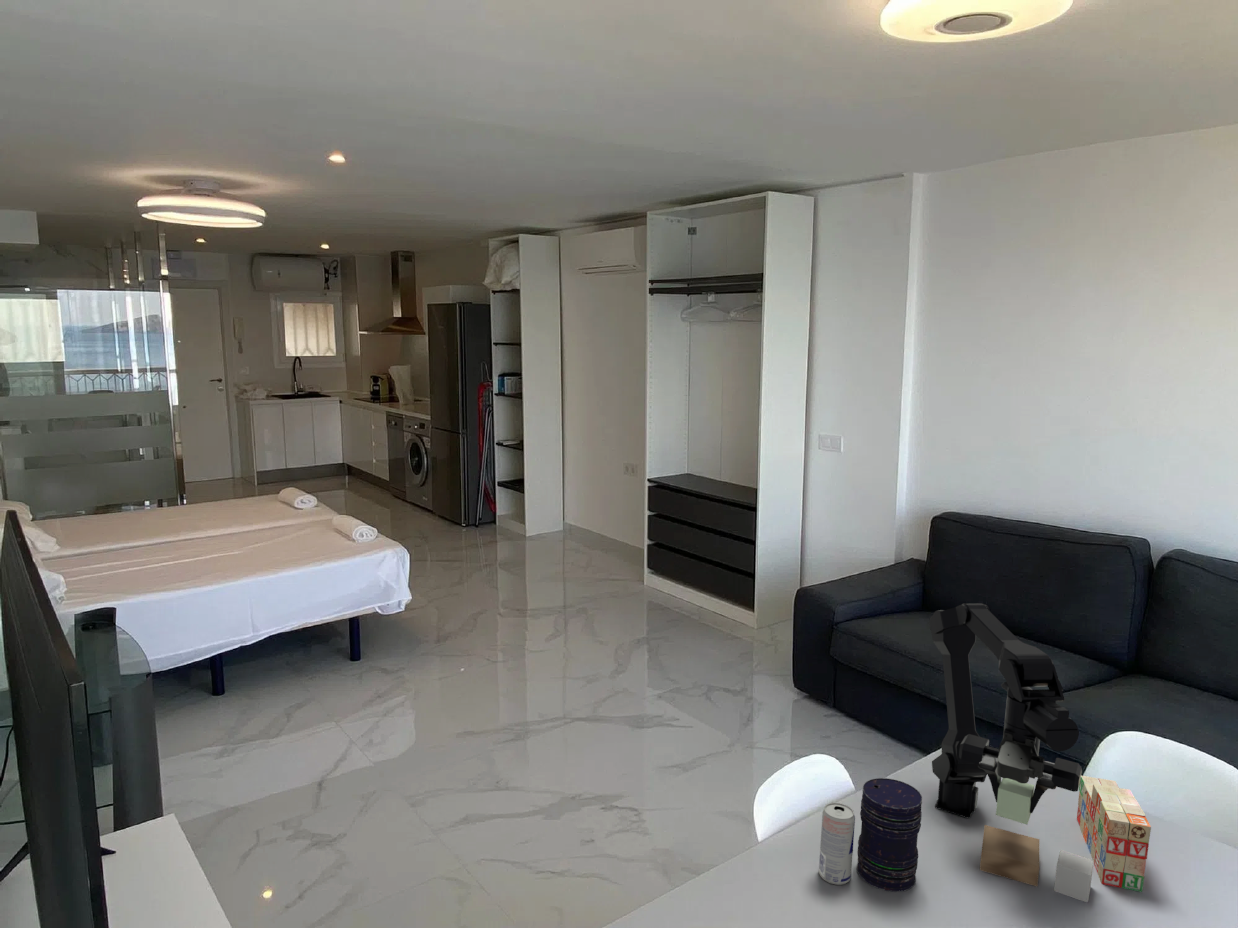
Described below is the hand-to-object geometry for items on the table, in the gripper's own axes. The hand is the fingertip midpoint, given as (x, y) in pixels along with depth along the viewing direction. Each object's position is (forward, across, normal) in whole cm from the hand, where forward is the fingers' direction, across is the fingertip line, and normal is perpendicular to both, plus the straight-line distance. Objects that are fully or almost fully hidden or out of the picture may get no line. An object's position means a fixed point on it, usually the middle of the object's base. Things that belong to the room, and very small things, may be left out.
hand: (1014, 806), depth 143 cm
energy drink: (+11, -24, -22) cm, 34 cm away
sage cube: (+1, 0, 0) cm, 1 cm away
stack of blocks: (+11, +14, +14) cm, 23 cm away
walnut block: (+11, 0, 0) cm, 11 cm away
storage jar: (+11, -17, -16) cm, 26 cm away
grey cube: (+11, +10, -1) cm, 15 cm away
